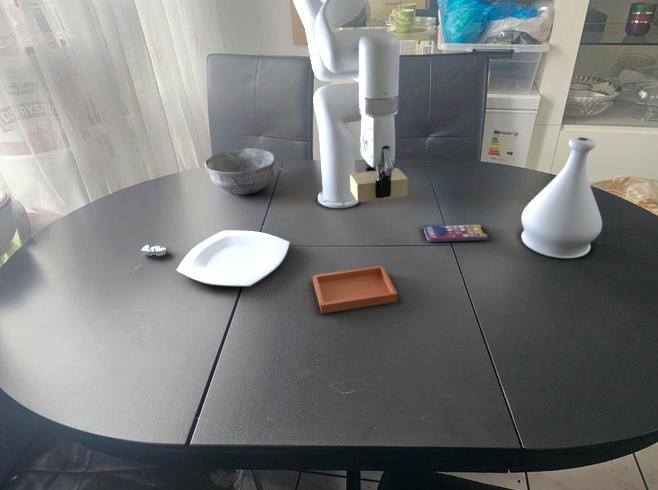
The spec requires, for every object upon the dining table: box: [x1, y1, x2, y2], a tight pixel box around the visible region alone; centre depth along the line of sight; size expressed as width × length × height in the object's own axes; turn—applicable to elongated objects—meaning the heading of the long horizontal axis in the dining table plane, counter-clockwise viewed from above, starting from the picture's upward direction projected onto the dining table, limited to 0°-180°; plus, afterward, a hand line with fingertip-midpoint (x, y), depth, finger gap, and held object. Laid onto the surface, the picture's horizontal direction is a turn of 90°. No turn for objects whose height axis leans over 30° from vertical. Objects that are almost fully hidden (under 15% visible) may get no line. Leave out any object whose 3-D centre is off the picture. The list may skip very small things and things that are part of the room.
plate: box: [176, 229, 291, 288], centre depth 104 cm, size 23×23×2 cm
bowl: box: [203, 147, 276, 195], centre depth 135 cm, size 21×21×10 cm
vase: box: [520, 136, 603, 259], centre depth 101 cm, size 17×17×25 cm
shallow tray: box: [312, 265, 398, 314], centre depth 93 cm, size 11×16×2 cm
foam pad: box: [350, 167, 409, 203], centre depth 96 cm, size 6×11×4 cm, turn 103°
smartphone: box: [423, 223, 489, 243], centre depth 112 cm, size 1×7×15 cm
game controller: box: [130, 243, 168, 274], centre depth 105 cm, size 6×12×3 cm, turn 2°
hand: (378, 189), depth 97 cm, fingers closed on foam pad, 6 cm apart
